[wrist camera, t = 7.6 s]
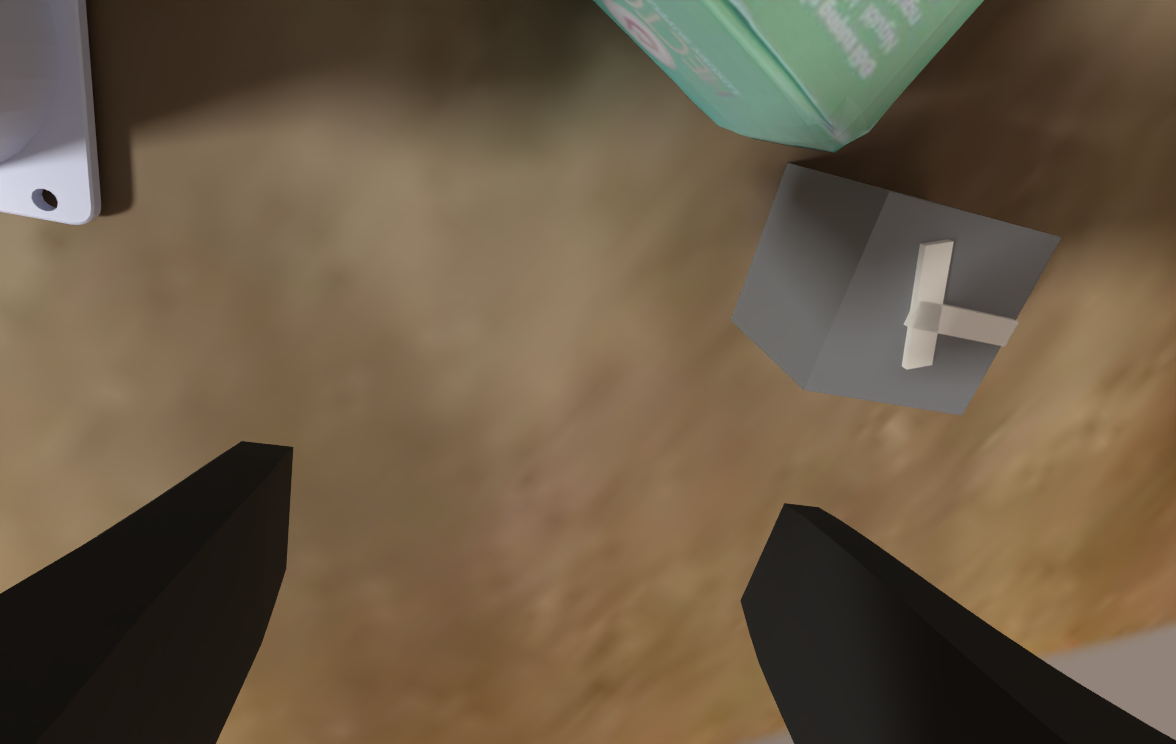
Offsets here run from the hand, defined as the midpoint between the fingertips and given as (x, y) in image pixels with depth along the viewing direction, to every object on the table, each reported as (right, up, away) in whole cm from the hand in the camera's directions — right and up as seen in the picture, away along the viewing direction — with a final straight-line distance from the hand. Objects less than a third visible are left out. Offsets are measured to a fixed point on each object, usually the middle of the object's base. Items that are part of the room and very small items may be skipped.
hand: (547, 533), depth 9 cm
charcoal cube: (+8, +6, +11) cm, 15 cm away
